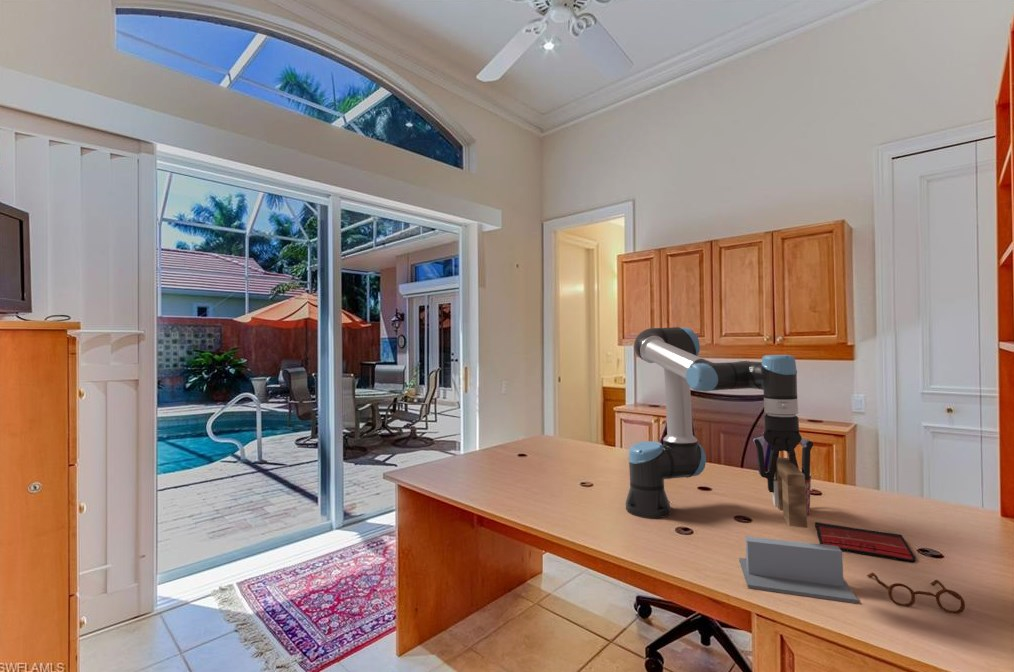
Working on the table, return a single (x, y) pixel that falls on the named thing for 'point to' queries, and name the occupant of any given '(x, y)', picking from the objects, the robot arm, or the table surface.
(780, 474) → the brown rectangular block
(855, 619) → the table surface
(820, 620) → the table surface
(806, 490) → the mug
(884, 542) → the black and red tablet
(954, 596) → the glasses
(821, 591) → the stand board
